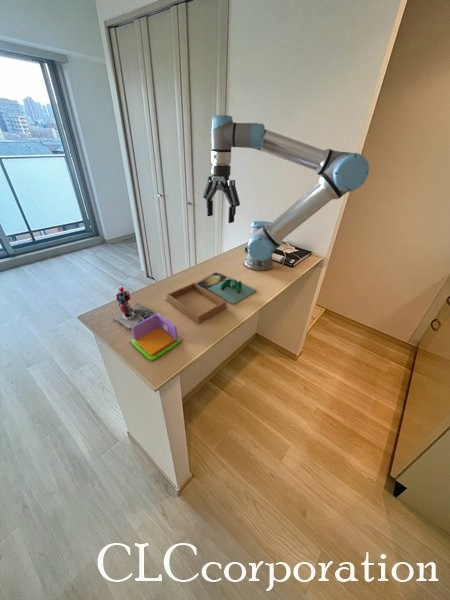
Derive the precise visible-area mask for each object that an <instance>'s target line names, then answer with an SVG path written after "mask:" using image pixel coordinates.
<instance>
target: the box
mask: <svg viewBox="0 0 450 600" xmlns="http://www.w3.org/2000/svg"><path fill="white" fill-rule="evenodd" d="M194 290H195V291H196V292H197V293H199V294H201V295H203V296H204V297H206V298H207V299H208V300H210V301H212V302H214V303H215V304H217V305H215V306H214V307H212V308H210V309H208V310H206V311H204V312H203V313H201V314H199V315H198V314H197V313H196V312H194V311H193V310H191V309H190V308H188V307H187V306H186V305H184V304H183V303H182V302H180V301H179V300H177V299H176V298H178V297H180V296H182V295H185V294H187V293H189V292H191V291H194ZM166 300H167V301H168V302H169V303H170V304H171V305H173V306H174V307H176V308H177V309H178V310H180V311H181V312H183V313H184V314H185V315H186V316H188V317H189V318H190V319H192V320H193V321H195V322H196V323H197V324H201V323H202V322H204V321H206V320H207V319H209V318H211V317H213V316H214V315H216V314H218V313H219V312H221V311H223V310H226V309H227V301H226V300H225V299H223V298H221V297H220V296H218V295H216V294H215V293H213V292H211V291H210V290H208V289H207V290H206V289H204V288H202V287H201V286H199V285H197V283H195V282H192V283H190V284H188V285H185V286H183V287H181V288H178V289H176V290H174V291H171V292H169V293H166Z"/></svg>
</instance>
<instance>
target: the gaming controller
mask: <svg viewBox="0 0 450 600" xmlns="http://www.w3.org/2000/svg"><path fill="white" fill-rule="evenodd" d="M223 281H224V282H223ZM223 281H222V282H223V283H222V285H221V288H220V289H221V290H224V289H225V288H226V287H228V288H234V289H237V293H240V291H241V288H242V284H243V283H242V281H241V280H240V279H238V280H236V279H234V280H229V278H228V277H226V279H224V280H223Z"/></svg>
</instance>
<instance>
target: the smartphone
mask: <svg viewBox="0 0 450 600" xmlns="http://www.w3.org/2000/svg"><path fill="white" fill-rule="evenodd" d="M226 278H227V276H225V275H223V274H221V273H218V272H214V273H212V274H211V275H209V276H207V277H205V278H203V279H202V280H201V281H199V282H197V283H196V284H197V285H199V286H201V287H202V288H204V289H206V290H207V291H208V288H210V287H212V286H214V285H216V284H219V283H221V282H223V281H225V279H226Z"/></svg>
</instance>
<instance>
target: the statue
mask: <svg viewBox="0 0 450 600" xmlns="http://www.w3.org/2000/svg"><path fill="white" fill-rule="evenodd" d="M118 291H119V292H117V293H116V294H115V296H116V300H117V301H118V307H119V309H120V311H121V312H120V313H118V314H117V315H115V316H113V319H114V320H115V321H116V322H117V321H118V322H119V323H121V325H122V326H124V327H125V328H127V329H128V330H129V331H130V330H132V327H133V326H134V325H136V324H138V323H140V322H142V321H144V320H146V319H147V318H149V317H151V316H152V315H154V313H155V312H154V311H152V310H151V309H149V308H147V307H146V306H144V305H142V304H141V303H140V302H137V303H135V304H133V306H131V305H130V303H129V301H130V300H131V299H132V297H131V293H130V291H129V290H126V289H124V287H123V286H119V287H118Z"/></svg>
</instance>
